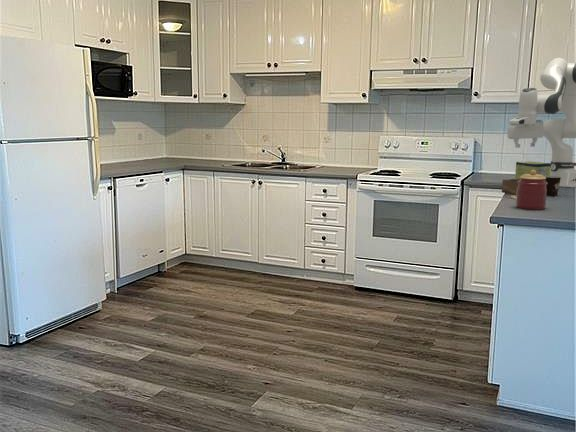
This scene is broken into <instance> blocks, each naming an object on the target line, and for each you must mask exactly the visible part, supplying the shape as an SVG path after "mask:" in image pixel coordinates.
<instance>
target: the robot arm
mask: <svg viewBox="0 0 576 432" xmlns="http://www.w3.org/2000/svg"><path fill="white" fill-rule="evenodd" d="M540 82H541V85H542V86H543V87H545V89H548V90H553V93H549V94H546V93H545V94H538V90H537V88H535V87H529V88H528V87H527V88H523V89H522V90H521V91H520V93H519V94H520V95H519V100H518V114H517V116H516V117H514V118H512V119H510V120H509V121H508V124H509V125H508V128H507V138H508V139H509V140H513V142H514V145H515V146H514V147H515V148H521V144H520V143H519V140H522V139H532V142H531V143H530V147H531V148H534V147H536V144H537V141H538V138H539V139H540V138H541V139H542V138H546V140H548V142H549V144H550V147H551V161H550V163H551V167H550V176H560V177H561V179H560V184H559V188H560V187H563V188H565V187H566V188H576V169H575V167H576V162H573V156H574V149H573V147H572V146H571V145H569V144H567V143H565V142H564V141H563V139H576V62H567V60H566V59H564V58H562V57H555V58H553V59H552V60H551V61H550V62H549V63H548V64H547V65H546V66H545V67H544V68H543V70H542V72H541V74H540ZM558 112H560V113H561V114H564V115H565V117H566V118H564V119H563V118H562V119H561V118H560V119H559V118H556V119H555V118H553V119H546V120H544V121H543V120H542V119H537V116H538V115H537V114H547V115H555V114H558Z"/></svg>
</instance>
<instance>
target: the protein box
mask: <svg viewBox="0 0 576 432" xmlns="http://www.w3.org/2000/svg"><path fill="white" fill-rule="evenodd" d="M550 167H551V162H541V161H532V160H529V161H528V160H527V161H516V163H515V176H514V179H521V178H520V176H522V175H523V174H530V171H531V170H535V171H536V174H540V175H543V176H550V170H551V168H550Z"/></svg>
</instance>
